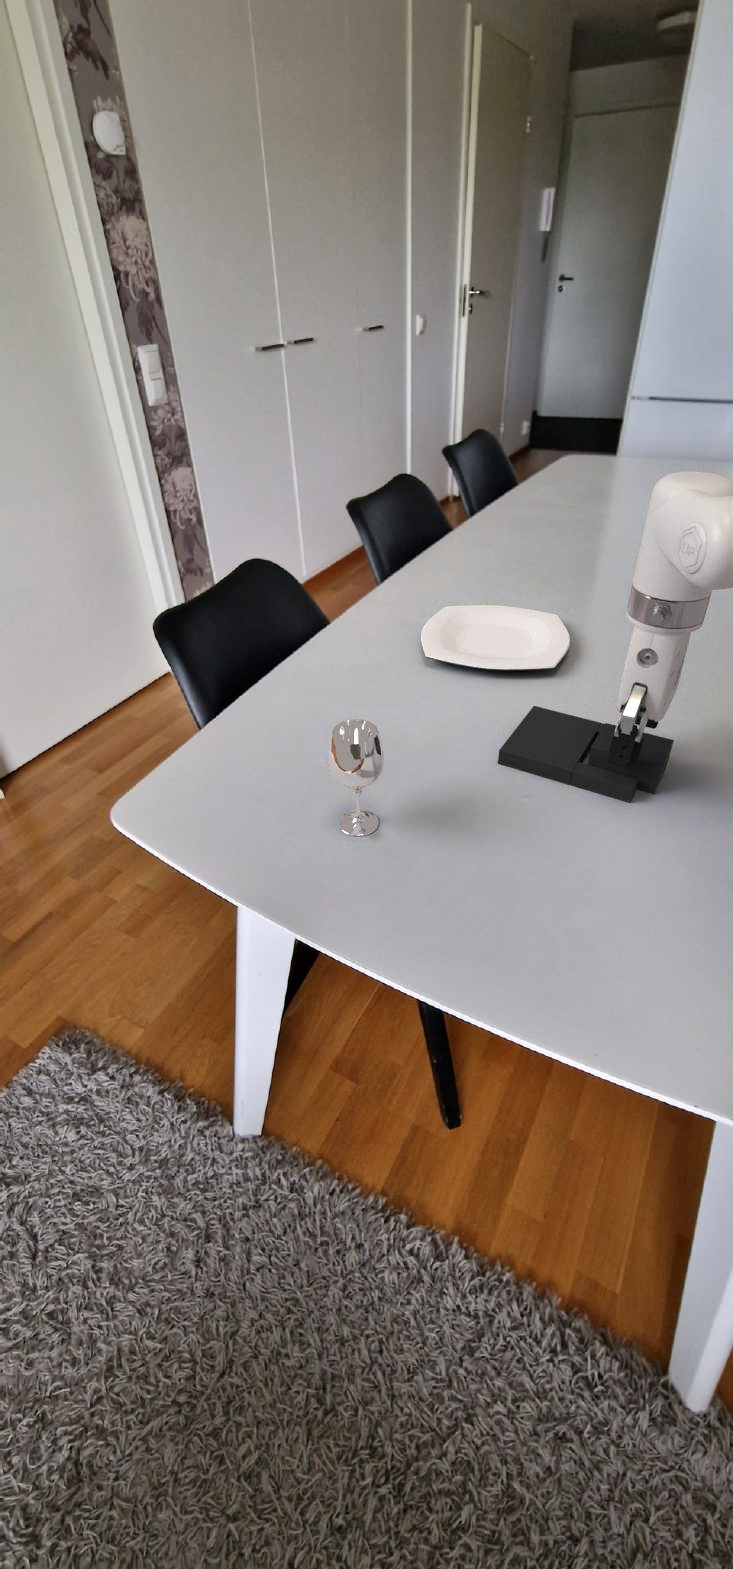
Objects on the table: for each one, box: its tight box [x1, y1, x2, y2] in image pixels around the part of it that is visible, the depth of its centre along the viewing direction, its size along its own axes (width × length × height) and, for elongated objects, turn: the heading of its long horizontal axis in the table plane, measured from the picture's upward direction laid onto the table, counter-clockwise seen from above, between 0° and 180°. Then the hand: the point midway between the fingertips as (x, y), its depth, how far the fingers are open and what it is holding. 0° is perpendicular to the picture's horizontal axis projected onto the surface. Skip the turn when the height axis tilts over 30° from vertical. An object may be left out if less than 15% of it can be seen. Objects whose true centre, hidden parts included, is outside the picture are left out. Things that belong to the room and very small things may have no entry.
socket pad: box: [497, 705, 638, 803], centre depth 86 cm, size 16×12×2 cm
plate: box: [420, 604, 571, 671], centre depth 111 cm, size 23×23×2 cm
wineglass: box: [327, 718, 385, 837], centre depth 74 cm, size 6×6×12 cm
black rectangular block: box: [587, 722, 675, 795], centre depth 83 cm, size 8×6×4 cm
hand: (632, 744), depth 82 cm, fingers open, 9 cm apart
